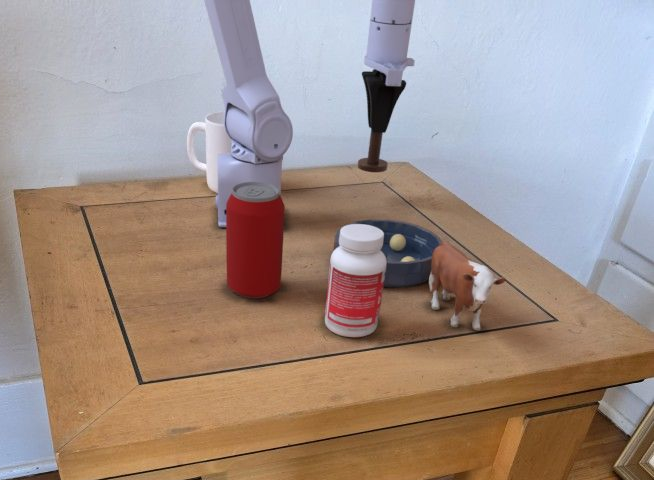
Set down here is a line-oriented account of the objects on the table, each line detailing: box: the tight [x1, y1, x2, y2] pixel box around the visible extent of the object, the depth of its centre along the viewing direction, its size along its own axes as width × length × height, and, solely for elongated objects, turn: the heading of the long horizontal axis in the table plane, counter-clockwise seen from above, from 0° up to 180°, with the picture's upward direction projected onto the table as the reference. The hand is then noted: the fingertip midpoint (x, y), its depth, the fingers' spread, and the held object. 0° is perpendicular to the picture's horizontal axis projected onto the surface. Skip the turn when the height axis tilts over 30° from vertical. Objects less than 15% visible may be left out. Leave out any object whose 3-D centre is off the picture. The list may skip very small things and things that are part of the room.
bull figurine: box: [428, 241, 507, 332], centre depth 81 cm, size 4×13×8 cm, turn 13°
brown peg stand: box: [357, 130, 389, 173], centre depth 105 cm, size 5×5×10 cm
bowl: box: [332, 218, 443, 288], centre depth 92 cm, size 14×14×4 cm
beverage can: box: [225, 182, 285, 299], centre depth 83 cm, size 7×7×12 cm
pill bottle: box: [324, 224, 387, 338], centre depth 77 cm, size 6×6×11 cm
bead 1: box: [390, 234, 406, 251], centre depth 95 cm, size 2×2×2 cm
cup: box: [186, 110, 231, 194], centre depth 110 cm, size 8×12×10 cm
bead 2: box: [400, 256, 415, 262], centre depth 90 cm, size 2×2×2 cm
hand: (377, 129), depth 104 cm, fingers closed on brown peg stand
